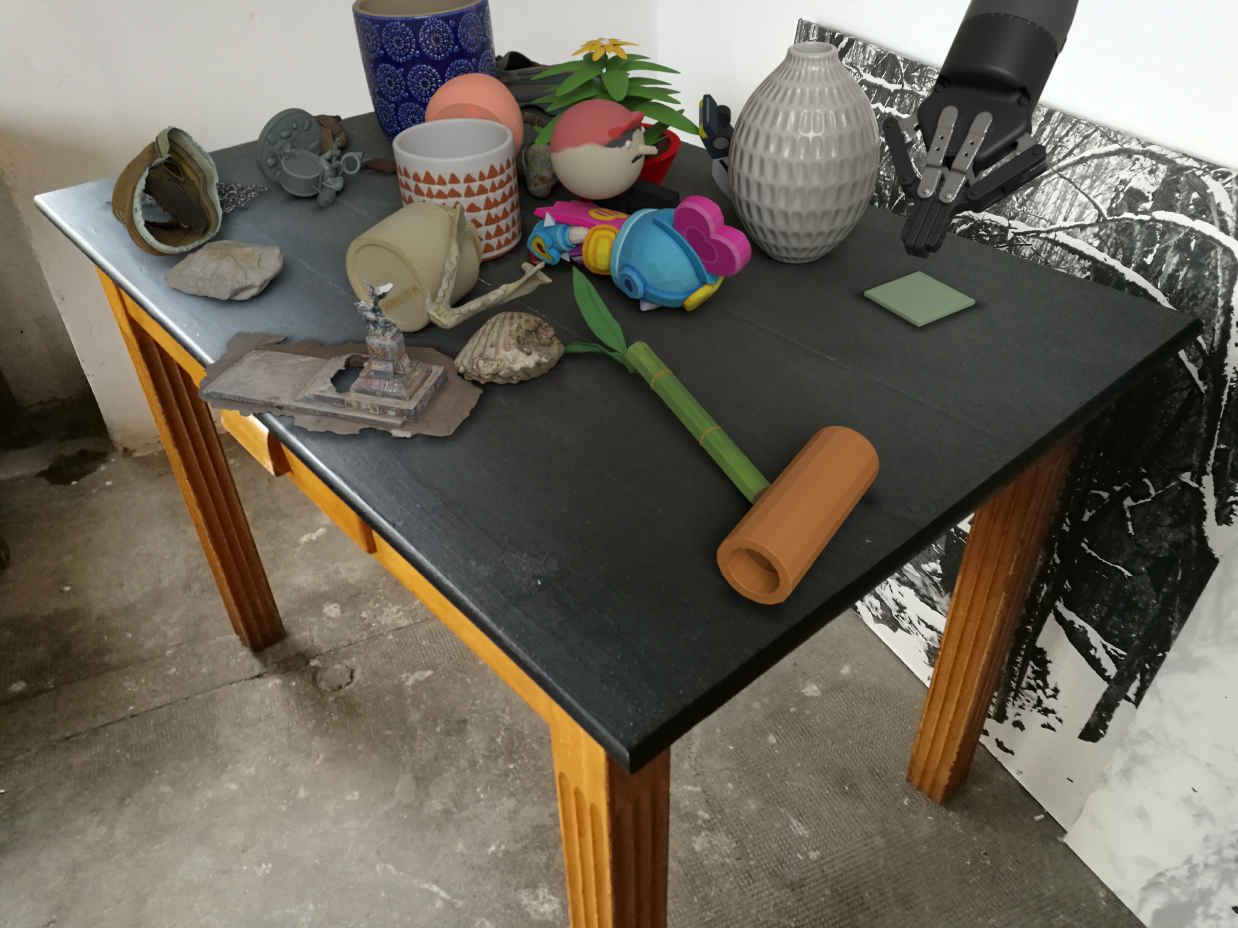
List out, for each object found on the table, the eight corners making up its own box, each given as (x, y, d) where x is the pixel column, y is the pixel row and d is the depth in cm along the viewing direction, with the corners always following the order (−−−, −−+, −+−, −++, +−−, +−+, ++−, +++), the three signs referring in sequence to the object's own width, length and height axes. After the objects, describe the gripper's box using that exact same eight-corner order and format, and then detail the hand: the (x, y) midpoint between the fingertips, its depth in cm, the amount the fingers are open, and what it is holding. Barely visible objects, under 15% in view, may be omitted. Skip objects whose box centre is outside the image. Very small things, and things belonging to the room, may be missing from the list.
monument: (156, 401, 87) (109, 281, 79) (252, 322, 98) (220, 212, 90) (442, 457, 80) (422, 332, 72) (510, 366, 91) (499, 249, 83)
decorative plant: (723, 504, 69) (538, 282, 85) (721, 558, 76) (550, 343, 92) (788, 467, 71) (594, 256, 87) (780, 524, 77) (602, 318, 93)
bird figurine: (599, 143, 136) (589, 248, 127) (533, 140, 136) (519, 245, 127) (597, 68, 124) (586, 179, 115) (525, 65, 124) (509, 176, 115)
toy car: (716, 121, 101) (677, 139, 104) (778, 207, 113) (742, 222, 116) (716, 89, 104) (678, 107, 106) (777, 177, 115) (742, 191, 118)
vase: (827, 212, 114) (848, 19, 99) (892, 269, 101) (927, 59, 87) (705, 232, 110) (709, 37, 96) (757, 294, 98) (770, 81, 84)
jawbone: (547, 297, 94) (568, 238, 88) (491, 376, 86) (510, 316, 80) (443, 243, 94) (456, 180, 88) (376, 316, 86) (386, 252, 79)
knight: (543, 310, 109) (741, 355, 89) (485, 219, 100) (692, 246, 80) (602, 243, 113) (805, 271, 93) (552, 150, 104) (765, 159, 84)
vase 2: (532, 219, 116) (524, 118, 108) (508, 269, 106) (498, 161, 98) (428, 215, 118) (412, 115, 109) (395, 264, 107) (375, 157, 99)
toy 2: (701, 276, 104) (595, 234, 110) (717, 257, 106) (612, 216, 111) (700, 220, 97) (587, 178, 103) (717, 200, 99) (605, 160, 105)
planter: (514, 164, 130) (496, 7, 117) (384, 181, 127) (350, 22, 114) (497, 122, 144) (479, -22, 131) (380, 136, 141) (350, -10, 128)
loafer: (481, 83, 160) (473, 26, 154) (626, 105, 148) (623, 45, 142) (443, 102, 153) (433, 44, 147) (591, 127, 141) (587, 65, 135)
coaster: (918, 274, 101) (919, 270, 100) (974, 304, 95) (975, 300, 95) (863, 295, 98) (864, 291, 97) (918, 327, 92) (919, 323, 92)
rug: (268, 184, 126) (270, 191, 127) (153, 173, 132) (156, 179, 132) (223, 212, 119) (225, 219, 120) (104, 199, 124) (106, 205, 125)
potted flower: (603, 156, 131) (595, 2, 118) (749, 196, 118) (757, 28, 105) (481, 215, 117) (457, 48, 104) (631, 268, 104) (624, 84, 91)
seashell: (486, 330, 79) (419, 360, 86) (526, 399, 81) (458, 423, 88) (557, 281, 87) (491, 312, 94) (592, 346, 89) (525, 371, 96)
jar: (831, 412, 71) (735, 523, 61) (893, 457, 70) (804, 577, 60) (799, 455, 75) (705, 565, 66) (857, 499, 74) (769, 617, 65)
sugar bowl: (303, 219, 92) (396, 163, 102) (330, 313, 99) (415, 252, 109) (420, 247, 87) (507, 185, 96) (440, 344, 94) (519, 277, 104)
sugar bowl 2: (399, 125, 111) (419, 74, 116) (474, 204, 120) (489, 154, 126) (474, 81, 105) (491, 30, 110) (547, 169, 114) (559, 117, 120)
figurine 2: (273, 112, 139) (321, 97, 144) (281, 141, 142) (328, 126, 147) (326, 131, 132) (375, 115, 137) (333, 161, 134) (381, 145, 139)
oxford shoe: (231, 167, 125) (175, 218, 128) (167, 109, 119) (109, 164, 121) (216, 263, 105) (148, 322, 107) (137, 200, 98) (67, 264, 101)
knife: (503, 213, 119) (524, 194, 122) (502, 205, 118) (523, 186, 121) (345, 177, 130) (367, 161, 133) (342, 170, 129) (365, 153, 132)
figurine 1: (317, 168, 132) (376, 208, 129) (255, 190, 125) (317, 233, 122) (317, 99, 125) (380, 140, 122) (252, 119, 118) (317, 163, 115)
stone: (232, 254, 111) (165, 296, 106) (213, 214, 108) (143, 255, 102) (309, 277, 105) (243, 323, 99) (293, 235, 101) (223, 281, 96)
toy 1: (648, 214, 94) (635, 116, 88) (545, 213, 98) (526, 120, 92) (678, 176, 101) (667, 83, 95) (581, 177, 106) (565, 89, 99)
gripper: (915, -1, 68) (822, 213, 69) (1102, 20, 62) (998, 256, 62) (931, 56, 75) (846, 251, 75) (1101, 80, 68) (1007, 293, 69)
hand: (915, 253), depth 69 cm, fingers closed
